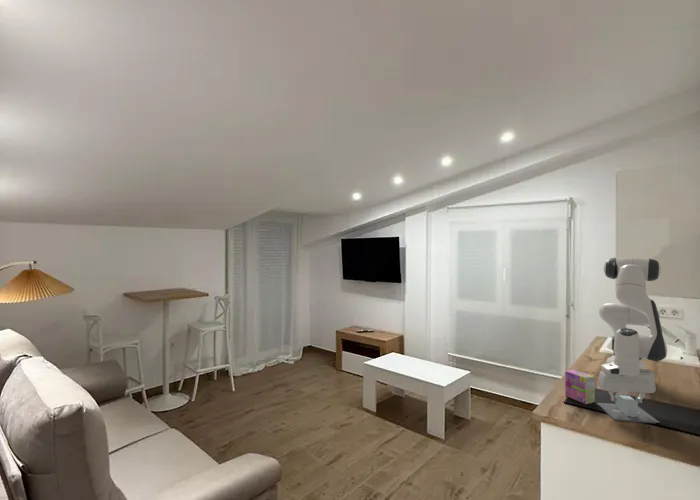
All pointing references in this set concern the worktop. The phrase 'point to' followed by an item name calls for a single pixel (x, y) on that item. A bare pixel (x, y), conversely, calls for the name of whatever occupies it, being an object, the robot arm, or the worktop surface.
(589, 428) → the worktop surface
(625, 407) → the block
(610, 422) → the worktop surface
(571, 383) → the box
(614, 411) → the mat
